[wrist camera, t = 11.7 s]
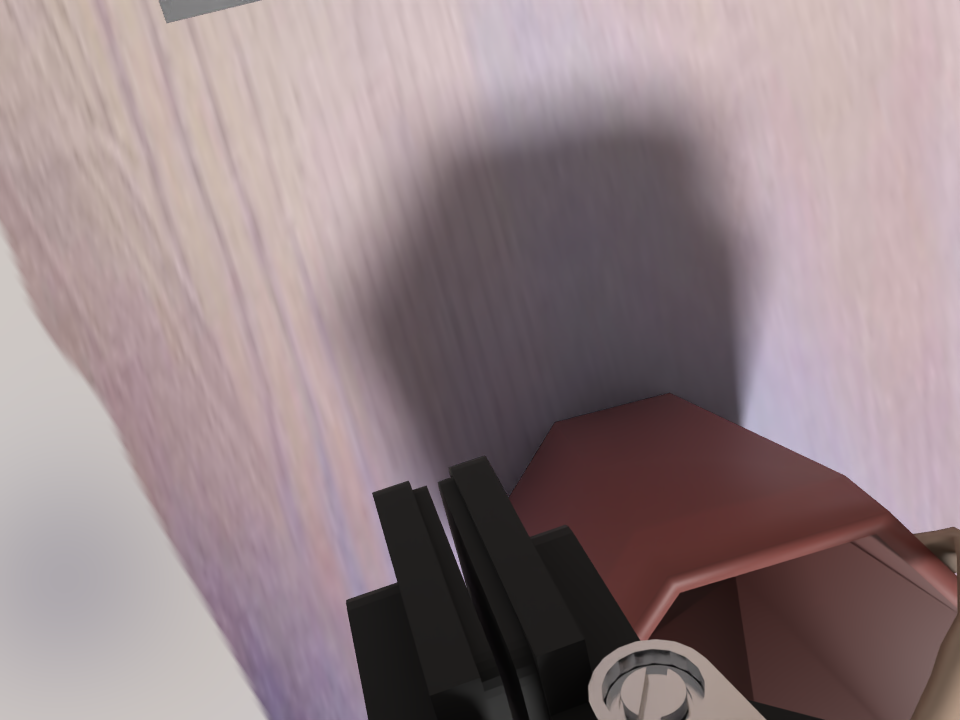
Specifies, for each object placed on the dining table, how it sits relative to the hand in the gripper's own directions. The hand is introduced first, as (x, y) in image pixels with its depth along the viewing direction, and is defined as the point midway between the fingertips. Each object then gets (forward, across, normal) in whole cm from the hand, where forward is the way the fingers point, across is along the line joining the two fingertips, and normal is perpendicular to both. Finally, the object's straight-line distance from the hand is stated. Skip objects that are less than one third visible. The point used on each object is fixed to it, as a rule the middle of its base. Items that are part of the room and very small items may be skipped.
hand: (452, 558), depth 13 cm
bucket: (+35, -13, +27) cm, 47 cm away
